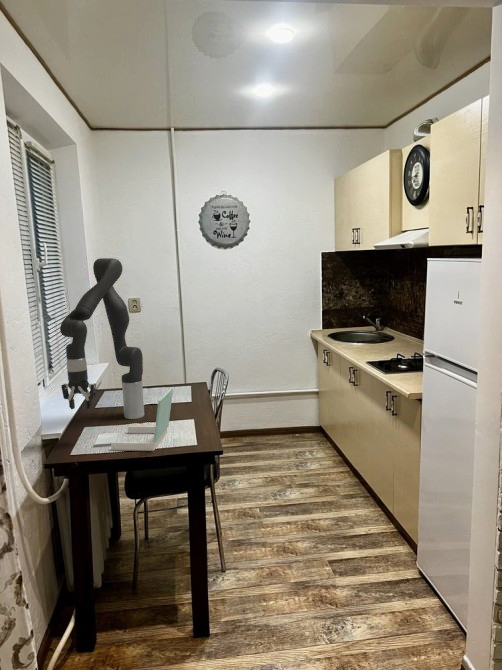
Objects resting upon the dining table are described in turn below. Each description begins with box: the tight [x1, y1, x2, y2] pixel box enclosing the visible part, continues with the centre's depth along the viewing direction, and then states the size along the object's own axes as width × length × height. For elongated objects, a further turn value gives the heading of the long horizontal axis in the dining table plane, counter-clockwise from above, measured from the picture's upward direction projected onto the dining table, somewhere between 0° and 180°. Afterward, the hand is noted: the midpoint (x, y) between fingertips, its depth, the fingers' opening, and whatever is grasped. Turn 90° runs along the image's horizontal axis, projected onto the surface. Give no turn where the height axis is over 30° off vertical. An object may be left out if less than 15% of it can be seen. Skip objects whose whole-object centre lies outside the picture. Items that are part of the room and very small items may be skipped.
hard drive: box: [93, 432, 119, 448], centre depth 199 cm, size 2×8×12 cm
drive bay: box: [110, 425, 168, 452], centre depth 198 cm, size 19×17×3 cm
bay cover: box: [153, 387, 174, 443], centre depth 195 cm, size 18×17×1 cm
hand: (80, 408), depth 198 cm, fingers open, 6 cm apart
